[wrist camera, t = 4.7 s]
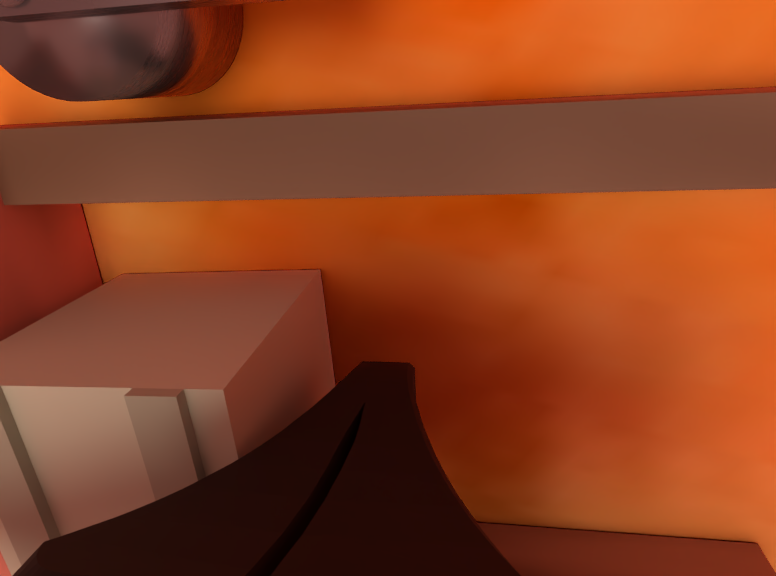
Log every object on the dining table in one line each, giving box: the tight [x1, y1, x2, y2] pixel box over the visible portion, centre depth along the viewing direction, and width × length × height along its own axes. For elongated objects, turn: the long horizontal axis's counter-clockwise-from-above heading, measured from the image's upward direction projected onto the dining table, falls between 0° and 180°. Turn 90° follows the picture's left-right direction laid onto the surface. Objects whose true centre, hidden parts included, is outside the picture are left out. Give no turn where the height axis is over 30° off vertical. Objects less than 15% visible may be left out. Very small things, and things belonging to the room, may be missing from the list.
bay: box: [0, 87, 776, 576], centre depth 11 cm, size 12×17×4 cm
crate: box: [0, 269, 335, 576], centre depth 11 cm, size 5×5×5 cm
